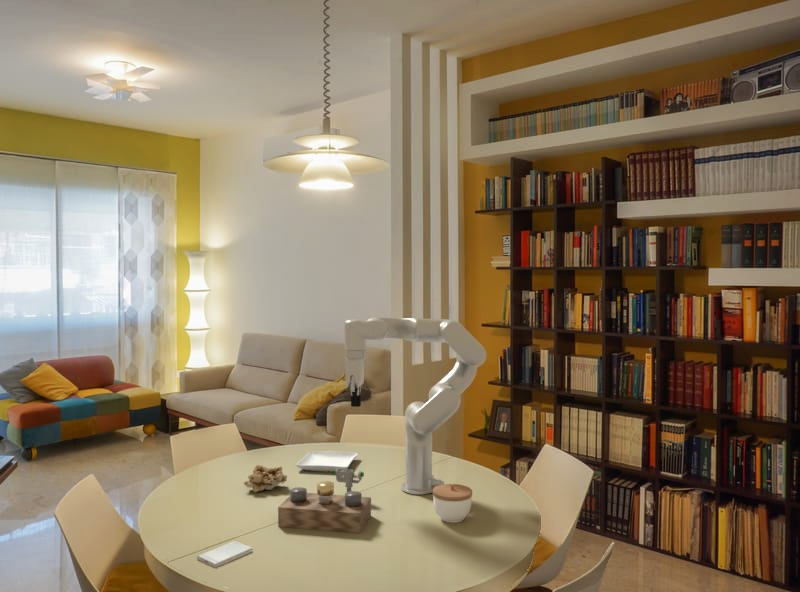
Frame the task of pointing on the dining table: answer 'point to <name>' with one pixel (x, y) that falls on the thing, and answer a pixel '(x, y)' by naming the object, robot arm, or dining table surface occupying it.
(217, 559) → the hard drive
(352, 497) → the knob
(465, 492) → the lidded bowl
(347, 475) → the mechanical component
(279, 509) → the knob panel
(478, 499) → the dining table surface
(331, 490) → the knob middle
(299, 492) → the knob
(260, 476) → the mineral formation
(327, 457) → the salad plate
